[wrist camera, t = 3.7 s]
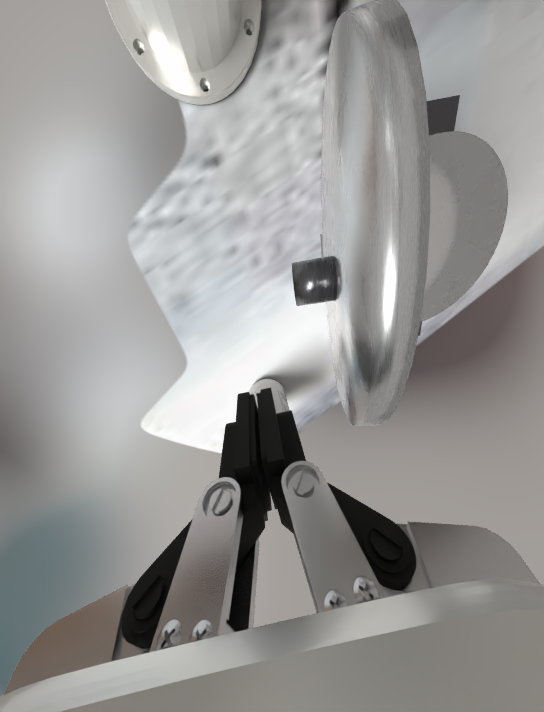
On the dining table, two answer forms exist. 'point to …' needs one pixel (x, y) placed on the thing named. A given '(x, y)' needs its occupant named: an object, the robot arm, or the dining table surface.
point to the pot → (459, 208)
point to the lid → (372, 208)
